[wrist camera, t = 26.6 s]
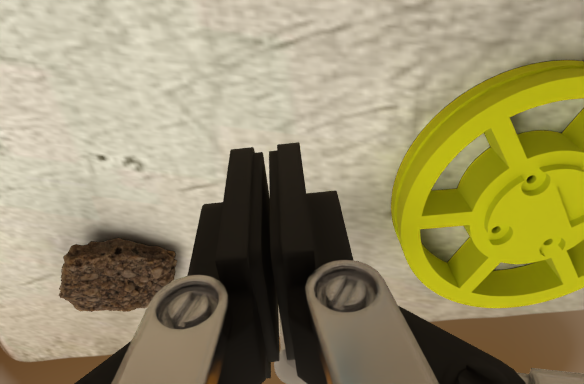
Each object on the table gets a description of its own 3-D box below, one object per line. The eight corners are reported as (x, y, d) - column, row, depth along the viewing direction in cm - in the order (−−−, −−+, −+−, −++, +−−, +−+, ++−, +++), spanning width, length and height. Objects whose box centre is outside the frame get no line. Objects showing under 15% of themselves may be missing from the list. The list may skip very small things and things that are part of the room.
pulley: (405, 301, 56) (416, 333, 52) (373, 104, 41) (385, 127, 37) (632, 254, 54) (663, 284, 49) (688, 24, 38) (740, 39, 34)
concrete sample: (62, 277, 51) (44, 311, 47) (82, 214, 46) (64, 245, 42) (159, 305, 54) (150, 339, 50) (187, 248, 50) (179, 281, 45)
